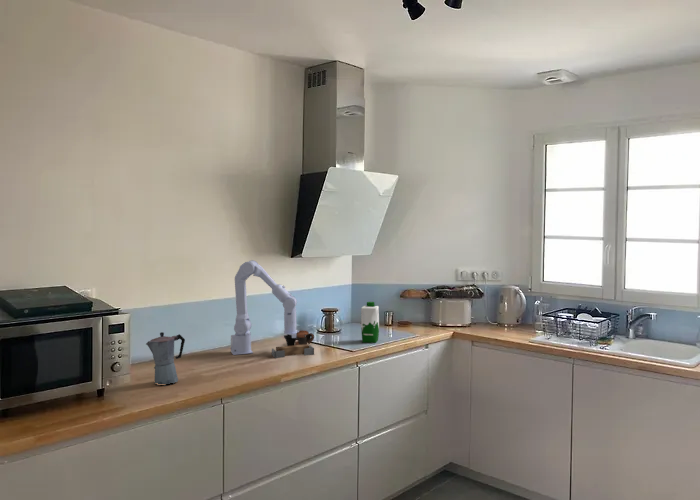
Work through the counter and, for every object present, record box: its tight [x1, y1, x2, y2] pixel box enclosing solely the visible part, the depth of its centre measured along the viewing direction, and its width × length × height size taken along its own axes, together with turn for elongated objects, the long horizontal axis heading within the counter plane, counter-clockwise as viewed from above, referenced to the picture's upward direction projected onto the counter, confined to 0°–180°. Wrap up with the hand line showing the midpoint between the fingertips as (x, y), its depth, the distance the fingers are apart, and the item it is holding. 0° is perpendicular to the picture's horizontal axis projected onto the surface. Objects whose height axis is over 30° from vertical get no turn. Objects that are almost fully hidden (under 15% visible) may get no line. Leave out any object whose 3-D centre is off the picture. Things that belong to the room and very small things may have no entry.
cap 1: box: [271, 348, 286, 359], centre depth 265 cm, size 5×7×3 cm
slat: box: [275, 343, 310, 357], centre depth 268 cm, size 15×4×4 cm, turn 109°
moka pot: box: [145, 332, 186, 385], centre depth 223 cm, size 10×15×20 cm, turn 135°
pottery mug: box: [294, 330, 315, 345], centre depth 290 cm, size 12×10×8 cm
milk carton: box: [360, 301, 380, 344], centre depth 294 cm, size 9×9×20 cm
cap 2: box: [303, 344, 315, 356], centre depth 270 cm, size 5×7×3 cm
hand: (290, 350), depth 272 cm, fingers closed
